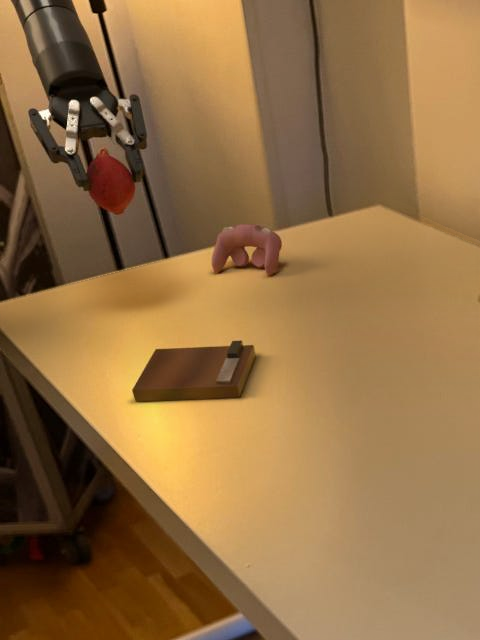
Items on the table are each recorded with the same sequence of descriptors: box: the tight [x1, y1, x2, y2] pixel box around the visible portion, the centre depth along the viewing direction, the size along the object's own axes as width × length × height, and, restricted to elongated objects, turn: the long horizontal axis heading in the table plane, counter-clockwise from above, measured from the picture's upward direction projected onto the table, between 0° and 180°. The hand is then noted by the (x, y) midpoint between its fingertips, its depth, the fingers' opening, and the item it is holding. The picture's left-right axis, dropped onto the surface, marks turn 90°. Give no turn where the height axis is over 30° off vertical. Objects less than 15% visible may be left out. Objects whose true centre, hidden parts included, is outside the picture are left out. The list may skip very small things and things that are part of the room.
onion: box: [86, 147, 136, 216], centre depth 125 cm, size 6×6×8 cm
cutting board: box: [131, 340, 257, 403], centre depth 115 cm, size 12×11×2 cm
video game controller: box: [211, 223, 283, 276], centre depth 142 cm, size 10×5×7 cm, turn 76°
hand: (112, 182), depth 123 cm, fingers closed on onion, 5 cm apart
